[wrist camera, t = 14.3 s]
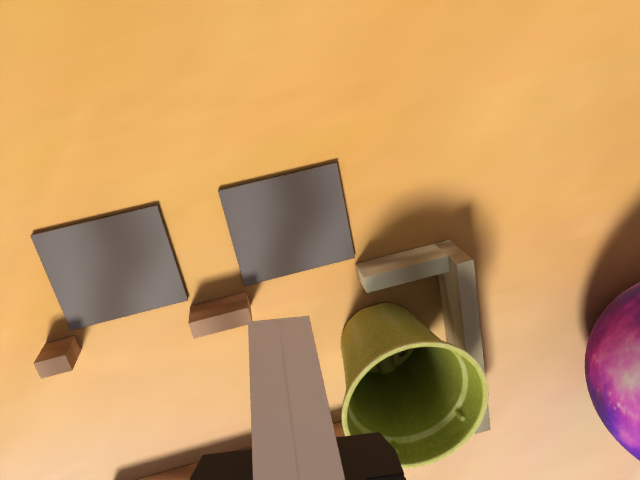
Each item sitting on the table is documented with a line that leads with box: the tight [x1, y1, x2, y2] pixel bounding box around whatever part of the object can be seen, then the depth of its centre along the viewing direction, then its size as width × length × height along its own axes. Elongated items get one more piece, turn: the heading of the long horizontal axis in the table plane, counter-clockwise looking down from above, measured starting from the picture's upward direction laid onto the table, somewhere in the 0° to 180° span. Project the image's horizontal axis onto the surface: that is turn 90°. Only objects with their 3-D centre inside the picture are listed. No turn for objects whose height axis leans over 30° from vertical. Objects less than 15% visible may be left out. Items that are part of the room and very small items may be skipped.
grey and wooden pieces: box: [31, 162, 490, 480], centre depth 37 cm, size 29×22×4 cm
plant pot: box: [341, 303, 489, 468], centre depth 37 cm, size 9×9×9 cm
